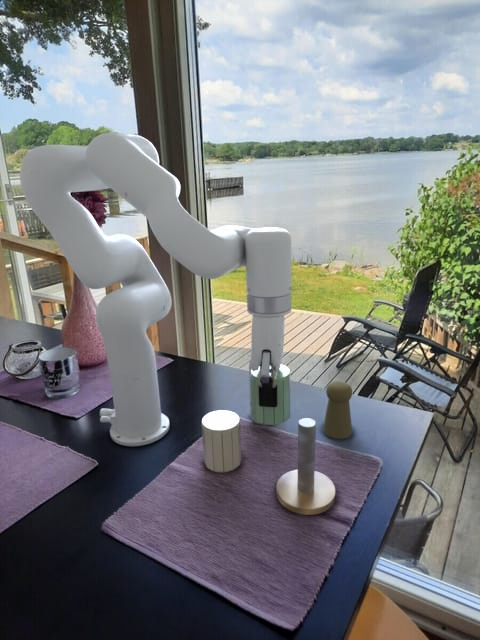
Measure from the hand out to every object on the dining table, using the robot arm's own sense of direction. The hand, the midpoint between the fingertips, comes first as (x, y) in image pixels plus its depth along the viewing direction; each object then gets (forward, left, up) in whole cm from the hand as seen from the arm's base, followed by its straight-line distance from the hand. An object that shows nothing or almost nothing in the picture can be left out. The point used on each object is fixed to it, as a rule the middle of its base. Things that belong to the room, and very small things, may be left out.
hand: (270, 394), depth 81 cm
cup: (-9, -2, -14) cm, 17 cm away
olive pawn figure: (+13, +11, -14) cm, 22 cm away
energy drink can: (-3, +14, -14) cm, 20 cm away
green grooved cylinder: (0, 0, -4) cm, 4 cm away
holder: (+7, -9, -14) cm, 18 cm away
